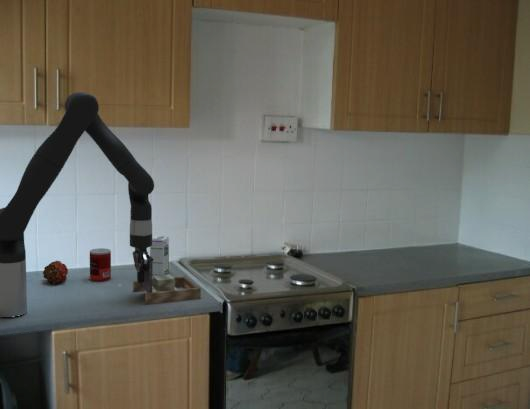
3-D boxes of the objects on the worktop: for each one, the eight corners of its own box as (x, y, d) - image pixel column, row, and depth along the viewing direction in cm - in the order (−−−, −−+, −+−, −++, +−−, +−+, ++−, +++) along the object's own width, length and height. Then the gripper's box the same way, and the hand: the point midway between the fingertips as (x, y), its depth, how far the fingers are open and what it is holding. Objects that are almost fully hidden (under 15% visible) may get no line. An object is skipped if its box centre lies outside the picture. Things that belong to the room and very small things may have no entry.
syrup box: (164, 276, 249) (164, 239, 246) (149, 274, 250) (149, 238, 248) (169, 272, 254) (169, 236, 252) (155, 271, 255) (155, 235, 253)
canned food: (112, 276, 246) (112, 248, 244) (108, 282, 238) (108, 253, 236) (92, 275, 246) (92, 247, 244) (87, 281, 238) (87, 252, 236)
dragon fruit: (54, 291, 230) (53, 286, 241) (73, 276, 232) (72, 272, 244) (38, 272, 228) (39, 269, 240) (58, 257, 230) (58, 254, 242)
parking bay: (146, 305, 212) (146, 294, 211) (133, 292, 227) (133, 281, 226) (200, 299, 221) (200, 288, 220) (184, 286, 235) (184, 276, 234)
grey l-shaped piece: (149, 300, 216) (149, 258, 214) (142, 293, 224) (142, 252, 222) (179, 297, 221) (180, 255, 219) (171, 290, 229) (171, 249, 227)
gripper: (125, 229, 220) (125, 278, 223) (135, 236, 208) (135, 288, 211) (146, 228, 223) (146, 276, 226) (157, 235, 212) (157, 286, 214)
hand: (140, 281), depth 219 cm, fingers closed
